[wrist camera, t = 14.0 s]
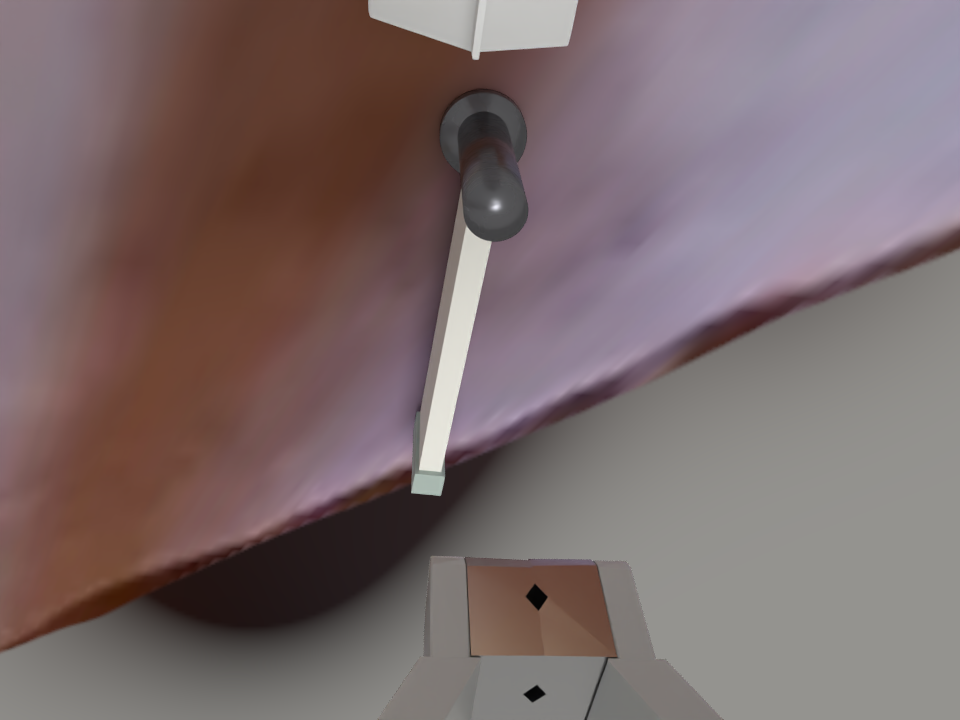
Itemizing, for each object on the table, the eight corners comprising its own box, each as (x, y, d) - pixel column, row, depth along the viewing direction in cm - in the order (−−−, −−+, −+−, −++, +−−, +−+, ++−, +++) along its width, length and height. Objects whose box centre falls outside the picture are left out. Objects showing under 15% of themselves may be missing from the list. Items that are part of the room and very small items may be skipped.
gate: (460, 169, 43) (464, 215, 37) (493, 174, 43) (502, 221, 38) (413, 430, 54) (411, 492, 49) (440, 432, 54) (440, 495, 49)
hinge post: (428, 158, 43) (427, 242, 34) (456, 76, 40) (463, 143, 32) (506, 185, 44) (524, 272, 35) (538, 107, 42) (567, 180, 33)
